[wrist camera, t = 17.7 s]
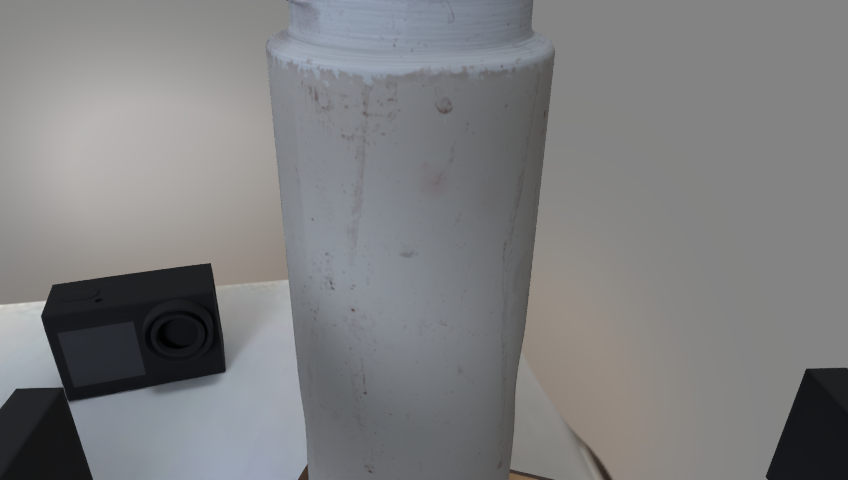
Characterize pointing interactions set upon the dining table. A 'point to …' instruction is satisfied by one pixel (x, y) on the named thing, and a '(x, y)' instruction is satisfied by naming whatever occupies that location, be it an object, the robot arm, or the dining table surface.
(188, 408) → the dining table surface
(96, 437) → the dining table surface
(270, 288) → the dining table surface
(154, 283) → the digital camera
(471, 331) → the thermos bottle
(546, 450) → the dining table surface
